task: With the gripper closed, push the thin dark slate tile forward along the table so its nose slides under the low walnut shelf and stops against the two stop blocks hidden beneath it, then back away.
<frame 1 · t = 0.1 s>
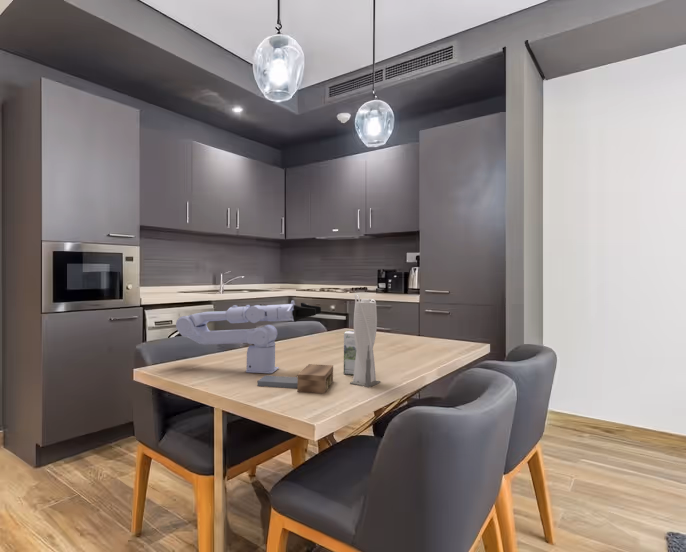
hand: (318, 310, 139), 22 cm above the table, tool horizontal, fingers open, 7 cm apart
syrup box: (353, 373, 140), on the table
slate tile: (281, 385, 126), on the table
skyscraper: (364, 383, 129), on the table
walnut shelf bridge: (316, 385, 124), on the table
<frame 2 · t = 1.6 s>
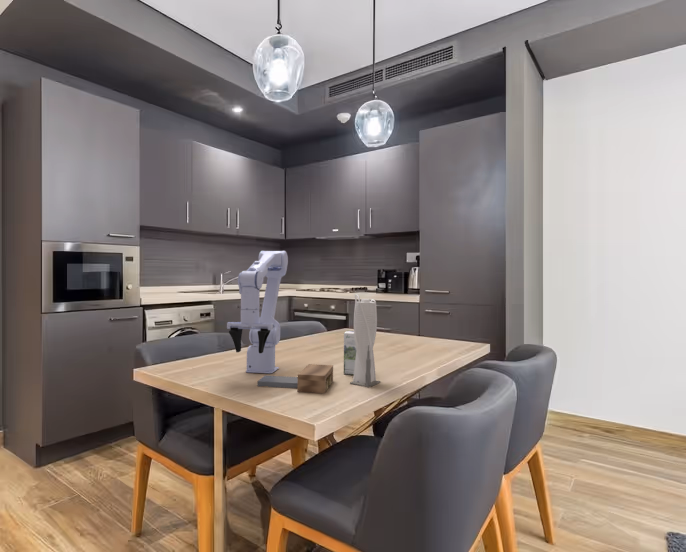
hand: (249, 352, 128), 9 cm above the table, tool pointing down, fingers open, 7 cm apart
nothing on the table moved.
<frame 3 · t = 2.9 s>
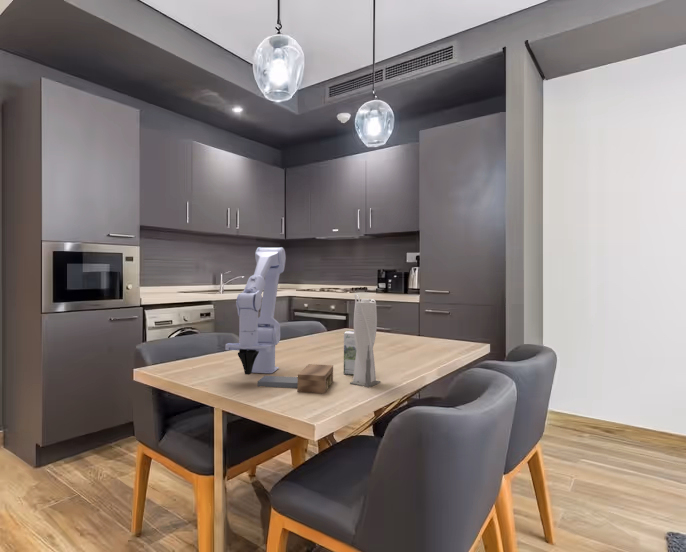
hand: (248, 373, 128), 3 cm above the table, tool pointing down, fingers closed
nothing on the table moved.
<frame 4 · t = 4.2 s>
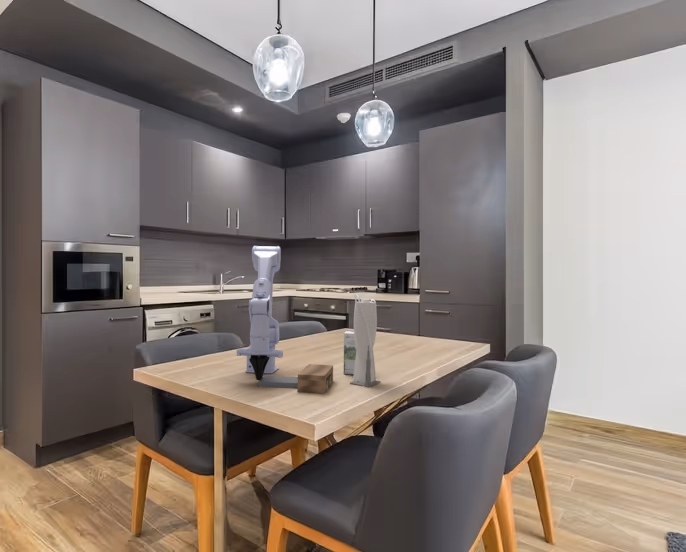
hand: (259, 379, 127), 1 cm above the table, tool pointing down, fingers closed
slate tile: (282, 385, 126), on the table, touching gripper
everything else where it was.
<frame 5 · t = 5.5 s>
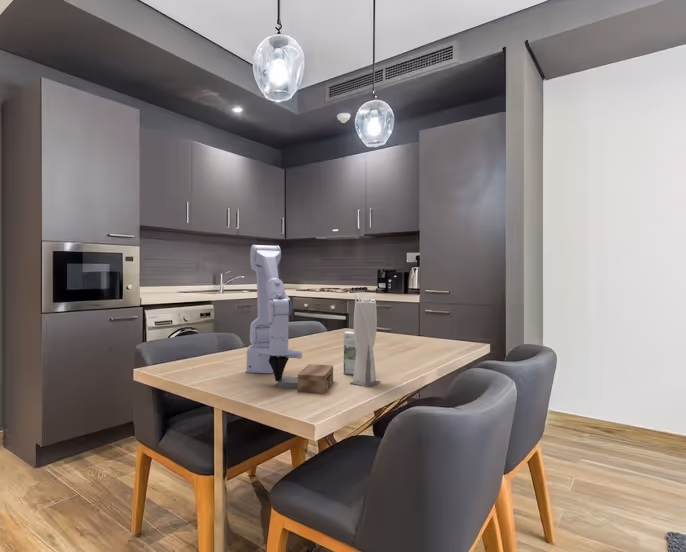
hand: (278, 380, 126), 1 cm above the table, tool pointing down, fingers closed
slate tile: (301, 386, 125), on the table
everything else where it was.
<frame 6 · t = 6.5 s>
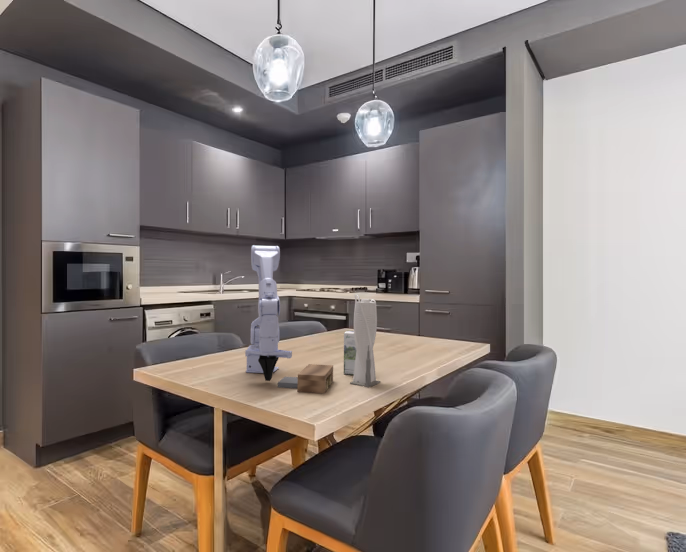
hand: (268, 380, 127), 1 cm above the table, tool pointing down, fingers closed
nothing on the table moved.
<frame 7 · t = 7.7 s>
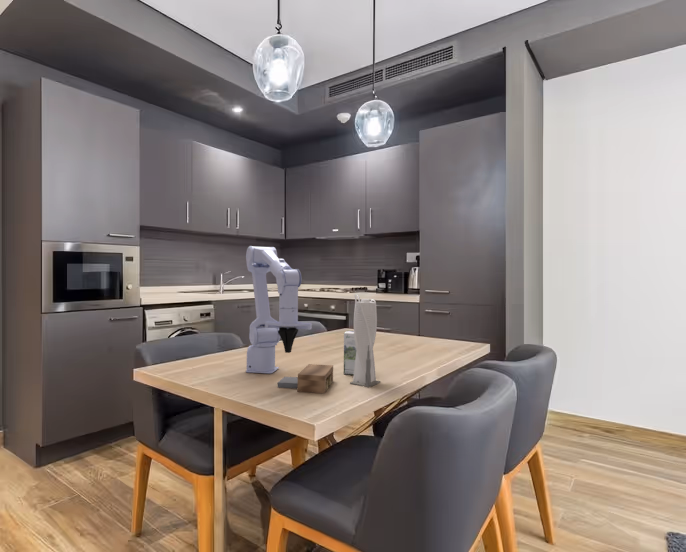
hand: (288, 352, 125), 10 cm above the table, tool pointing down, fingers closed
nothing on the table moved.
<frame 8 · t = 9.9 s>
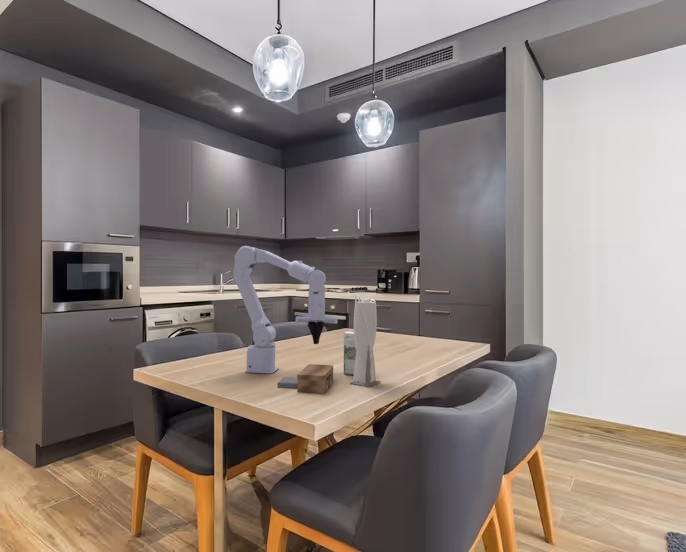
hand: (316, 343, 141), 10 cm above the table, tool pointing down, fingers closed
nothing on the table moved.
at the end: slate tile 0.4 cm from the target spot, on the table; slate tile tilted 0° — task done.
